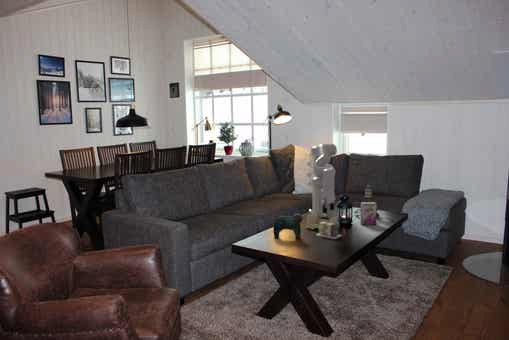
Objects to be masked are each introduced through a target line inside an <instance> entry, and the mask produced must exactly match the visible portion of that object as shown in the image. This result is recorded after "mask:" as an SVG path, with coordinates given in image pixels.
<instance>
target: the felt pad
mask: <svg viewBox="0 0 509 340" xmlns="http://www.w3.org/2000/svg"><path fill="white" fill-rule="evenodd" d="M315 236H317V237H322V238H327V239H328V238H329V239H333V240H336V239H338V238H340V237H342V234H338V236H336V237H330V236H325V235H320V234H319V232H318V233H316V234H315Z"/></svg>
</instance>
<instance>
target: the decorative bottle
mask: <svg viewBox="0 0 509 340" xmlns="http://www.w3.org/2000/svg"><path fill="white" fill-rule="evenodd" d="M365 186H366V188H365V189H364V191H365V192H364V194H365V195H364V198H368V199H369V198H372V194H373V193H372V189H371V188H372V186H371V185H369V184H368V185H365ZM357 200H358V201H359V202H360V203H361V202H365V201H364V200H363V199H361V198H357ZM375 202H376V203H377V206H378V205H379V204H381V203H383V200H378V201H375ZM359 206H360V207H359V209H357V210H356V211H354V214H358V213H360V214H361V204H360V205H359ZM379 216H380V214H379V213H378V212H377V217H379Z"/></svg>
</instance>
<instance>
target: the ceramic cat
mask: <svg viewBox="0 0 509 340" xmlns="http://www.w3.org/2000/svg"><path fill="white" fill-rule="evenodd" d="M289 211H292V215H288V214H285V213H281V214H280V213H279V214H278V215H277V217H275V218H274V223H273V230H272V231H273V237H274V239H278V240H279V239H280V233H281V232H282V231H283V230H289V231H293V233H294V235H295V240H301V233H302V230H301V224H302V222H303V220H304V216H303V214H302V212H301V211H300V212H299V213H294V209H291V208H290V209H288V210H287V212H289Z"/></svg>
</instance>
